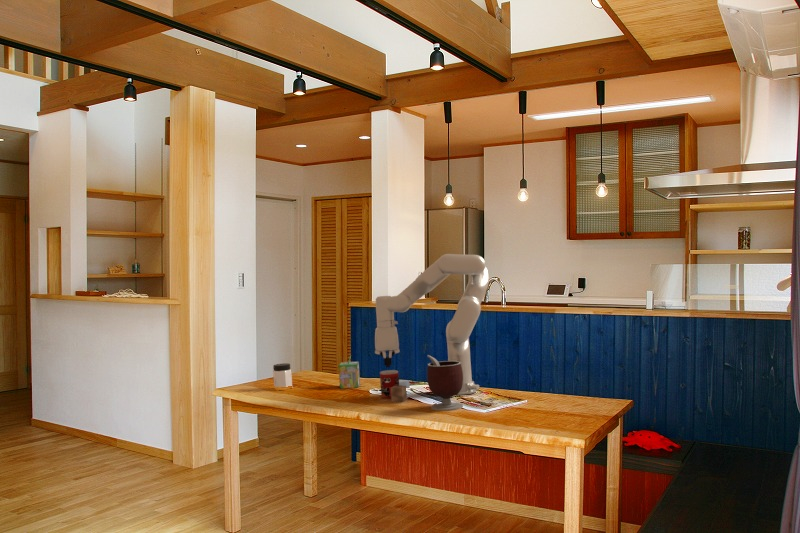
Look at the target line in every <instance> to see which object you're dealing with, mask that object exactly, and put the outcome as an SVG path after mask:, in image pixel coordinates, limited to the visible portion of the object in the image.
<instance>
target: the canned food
mask: <svg viewBox="0 0 800 533" xmlns="http://www.w3.org/2000/svg"><path fill="white" fill-rule="evenodd" d="M399 380H400V377H399V370H396V369H388V370H387V369H386V370H382V371H379V381H380V394H381V398H382V399H390V400H392V399H391V387H393V386H399Z"/></svg>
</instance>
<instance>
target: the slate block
mask: <svg viewBox="0 0 800 533" xmlns="http://www.w3.org/2000/svg"><path fill="white" fill-rule="evenodd" d="M399 386H406V388H410V386H411V385H410V380H408V379H399Z"/></svg>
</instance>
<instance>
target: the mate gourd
mask: <svg viewBox="0 0 800 533" xmlns="http://www.w3.org/2000/svg"><path fill="white" fill-rule="evenodd" d="M426 357H427V358H429V360H431V362H429V363H427V368H426V369H427V370H426V379H427V384H428V385H427V386H428V388H429V390H430V391H431V393H432V394H433V395H434V396H436V397H439V398H441V399H442V402H439V403H435V404H432V405H431V406H430V407H431V410H433V411H439V412H446V411H447V412H450V411H457V410H460V409H463V408H464V404H463V403H461V402H455V401H454V402H453V401H452V400H451V398H452V397H454V396H456V394H458V393H459V392H460V390H461V389H462V385H463V371H462V366H461V362H458V361H448V360H443V361H441V360H440V361H438V360H437V359H436V358H435V357H433V356H431V355H430V354H427V356H426Z"/></svg>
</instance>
